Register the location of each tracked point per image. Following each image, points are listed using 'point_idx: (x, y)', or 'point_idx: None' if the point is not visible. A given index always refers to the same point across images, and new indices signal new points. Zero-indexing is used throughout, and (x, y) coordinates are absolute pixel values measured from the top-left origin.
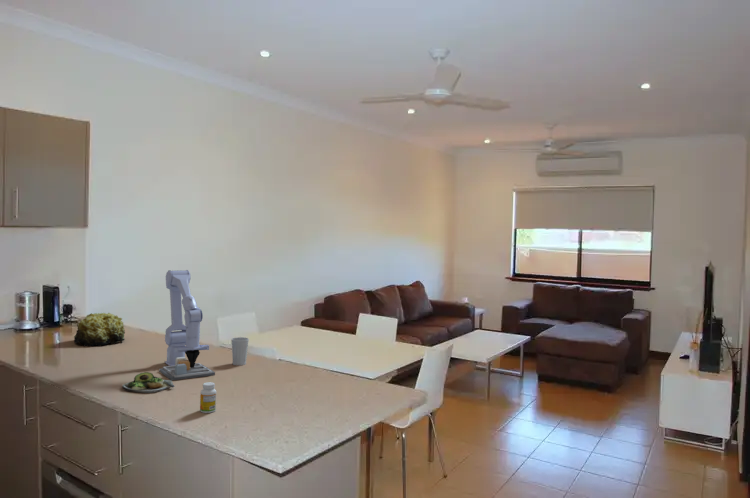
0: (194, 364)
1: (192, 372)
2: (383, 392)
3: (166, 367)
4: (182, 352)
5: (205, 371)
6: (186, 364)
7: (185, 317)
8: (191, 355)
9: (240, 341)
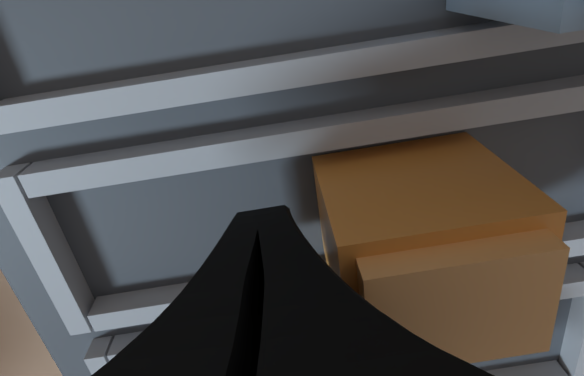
0: (224, 233)
1: (282, 57)
2: None
3: (548, 374)
4: None
5: (32, 70)
6: (409, 209)
7: None
8: (354, 372)
9: None
